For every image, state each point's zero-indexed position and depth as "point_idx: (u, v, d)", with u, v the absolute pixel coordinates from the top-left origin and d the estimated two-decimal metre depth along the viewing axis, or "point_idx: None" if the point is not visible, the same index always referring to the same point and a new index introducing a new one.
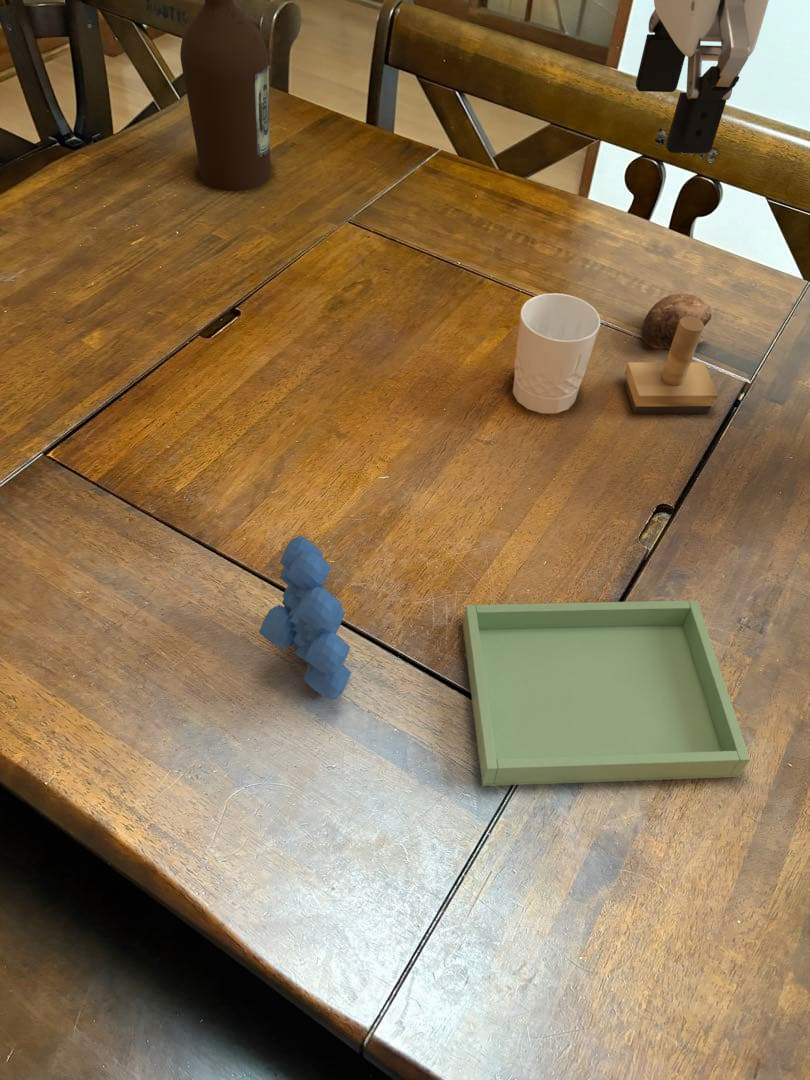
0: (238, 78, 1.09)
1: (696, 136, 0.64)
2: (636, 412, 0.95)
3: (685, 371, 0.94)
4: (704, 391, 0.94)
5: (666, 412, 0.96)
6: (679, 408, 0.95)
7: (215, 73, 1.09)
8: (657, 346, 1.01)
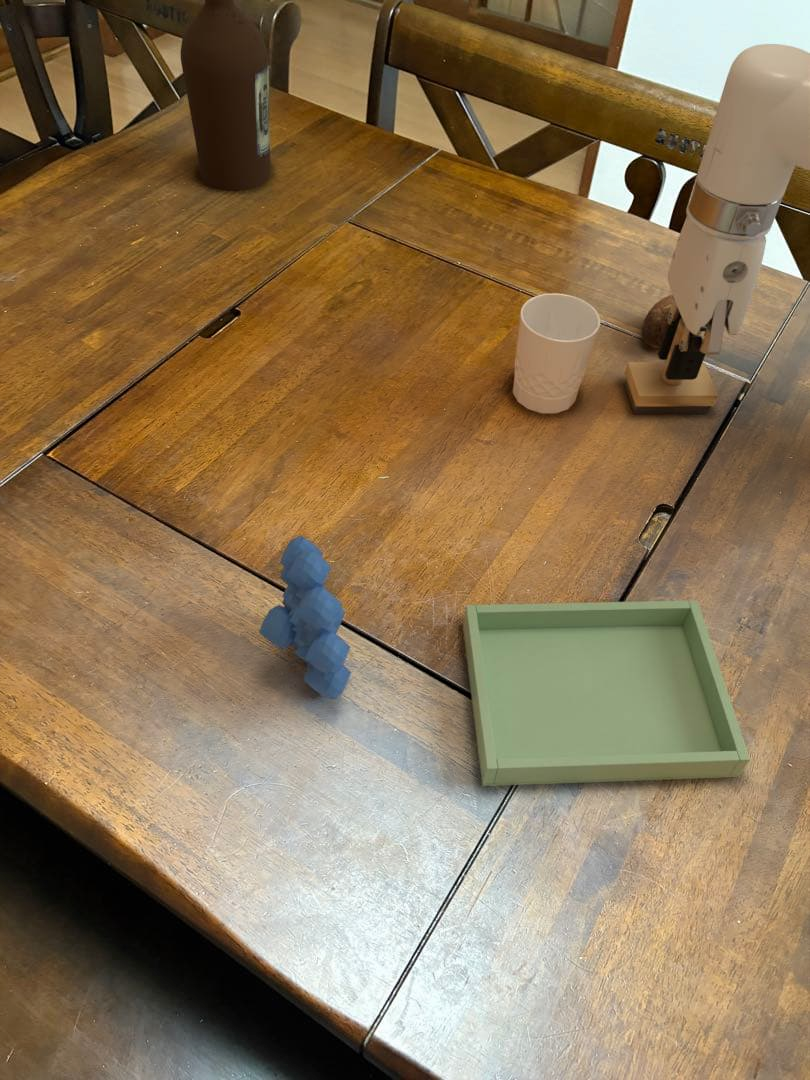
0: (238, 78, 1.09)
1: (686, 372, 0.92)
2: (636, 412, 0.95)
3: None
4: (704, 391, 0.94)
5: (666, 412, 0.96)
6: (679, 408, 0.95)
7: (215, 73, 1.09)
8: (657, 346, 1.01)
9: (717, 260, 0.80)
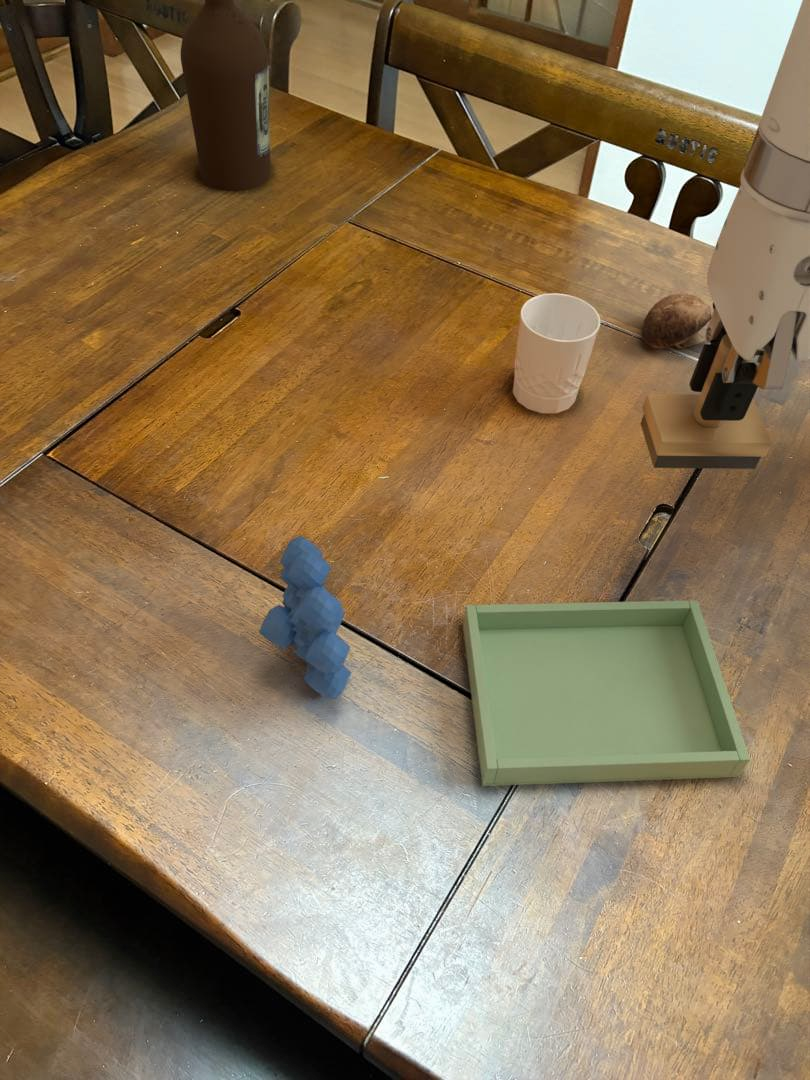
0: (238, 78, 1.09)
1: (730, 410, 0.65)
2: (657, 463, 0.69)
3: None
4: (752, 436, 0.68)
5: (699, 463, 0.70)
6: (717, 458, 0.69)
7: (215, 73, 1.09)
8: (657, 346, 1.01)
9: (787, 252, 0.54)
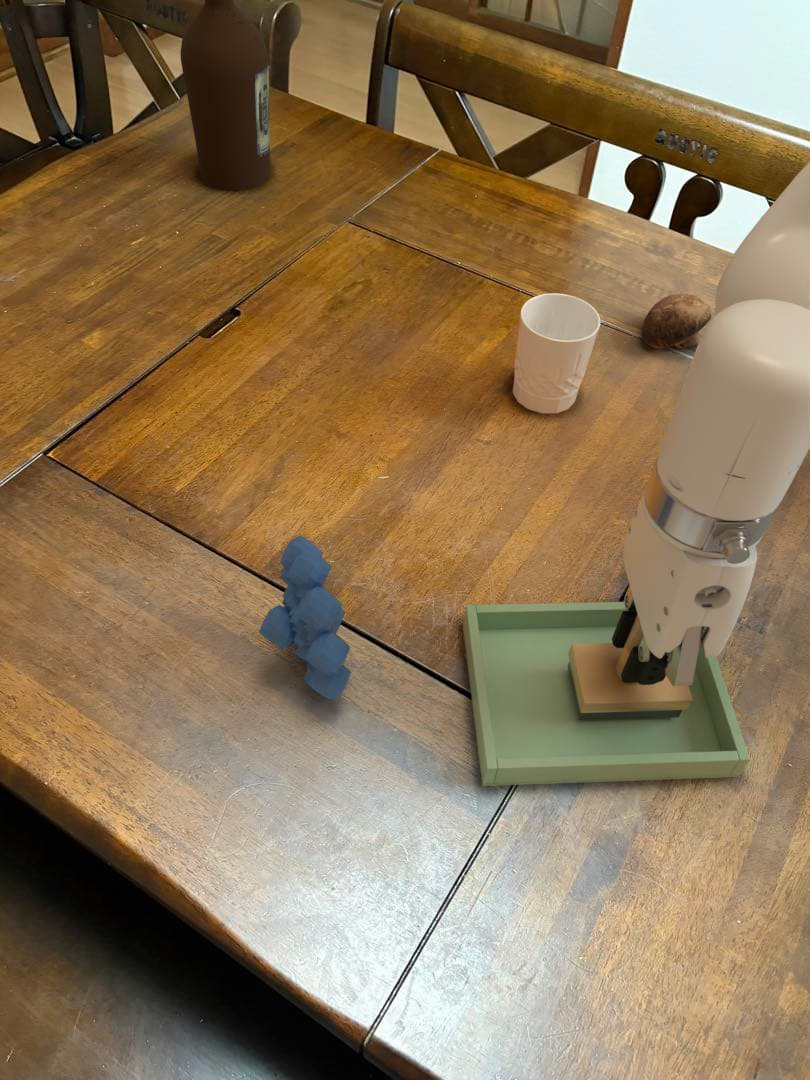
0: (238, 78, 1.09)
1: (648, 679, 0.67)
2: (582, 717, 0.70)
3: None
4: (673, 693, 0.69)
5: (623, 716, 0.71)
6: (640, 712, 0.70)
7: (215, 73, 1.09)
8: (657, 346, 1.01)
9: (686, 582, 0.55)
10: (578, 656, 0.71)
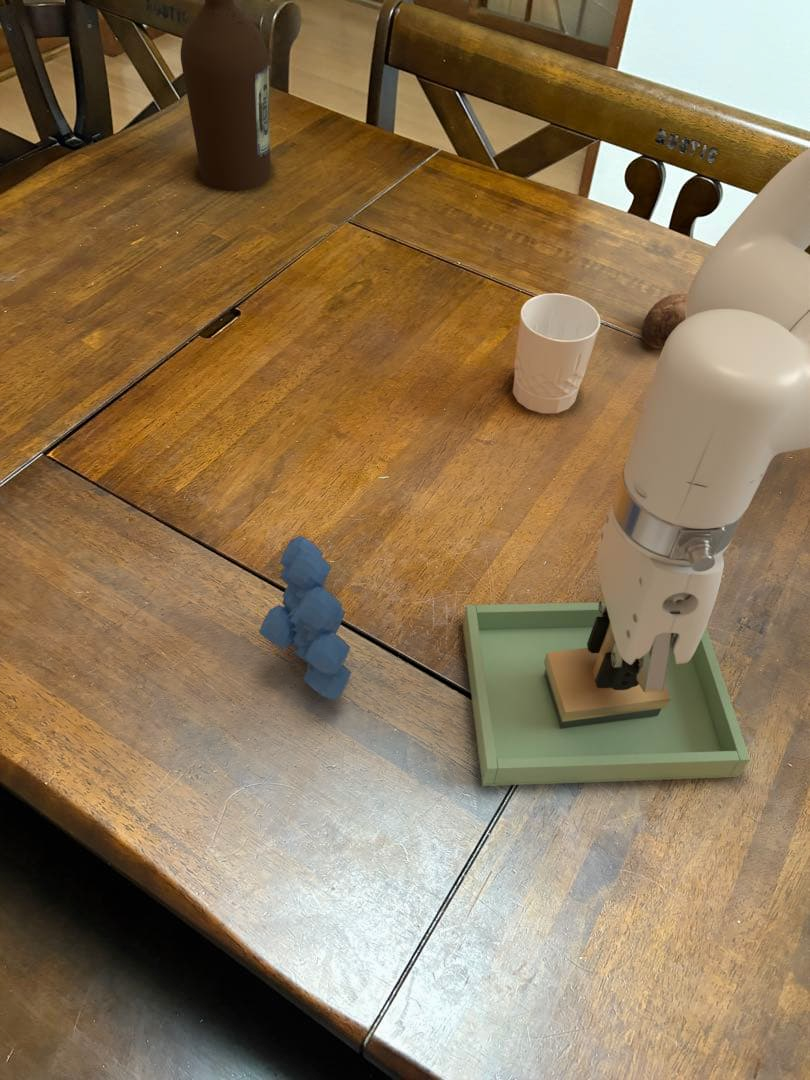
0: (238, 78, 1.09)
1: (622, 684, 0.67)
2: (563, 725, 0.70)
3: None
4: (651, 693, 0.70)
5: (603, 720, 0.71)
6: (620, 714, 0.71)
7: (215, 73, 1.09)
8: (657, 346, 1.01)
9: (654, 590, 0.55)
10: (554, 664, 0.71)
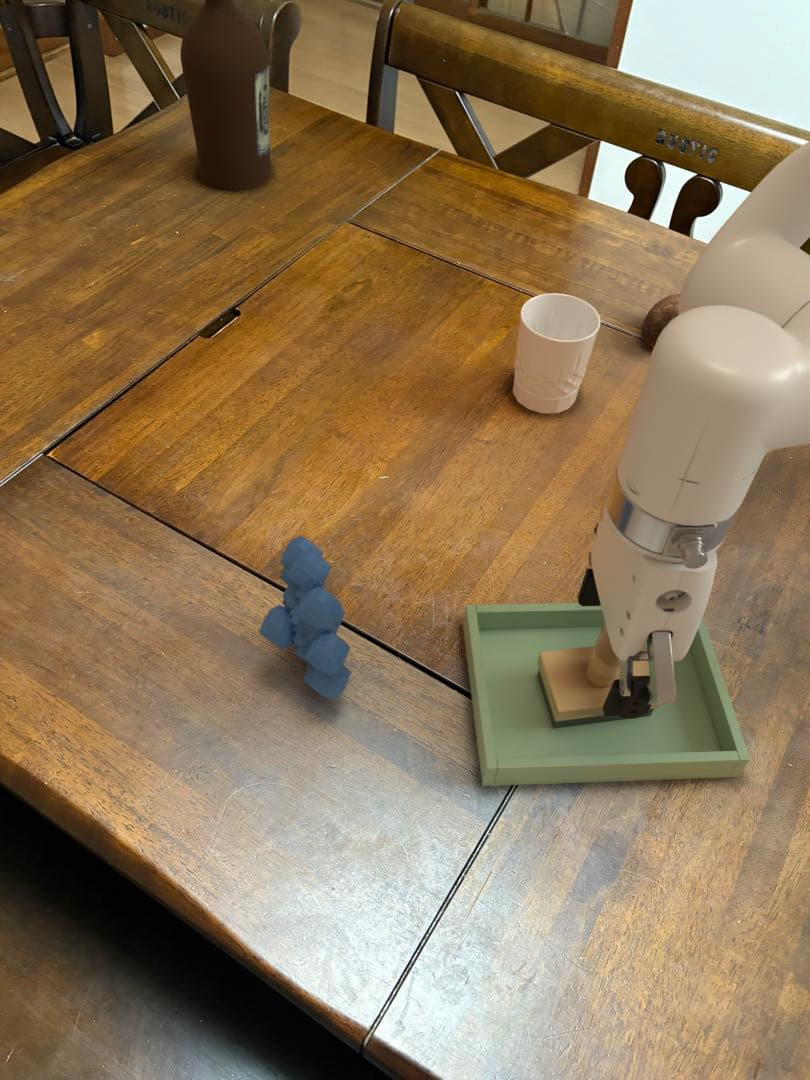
0: (238, 78, 1.09)
1: (631, 713, 0.64)
2: (556, 725, 0.70)
3: (617, 672, 0.69)
4: None
5: (596, 720, 0.71)
6: None
7: (215, 73, 1.09)
8: None
9: (647, 587, 0.55)
10: (548, 664, 0.71)
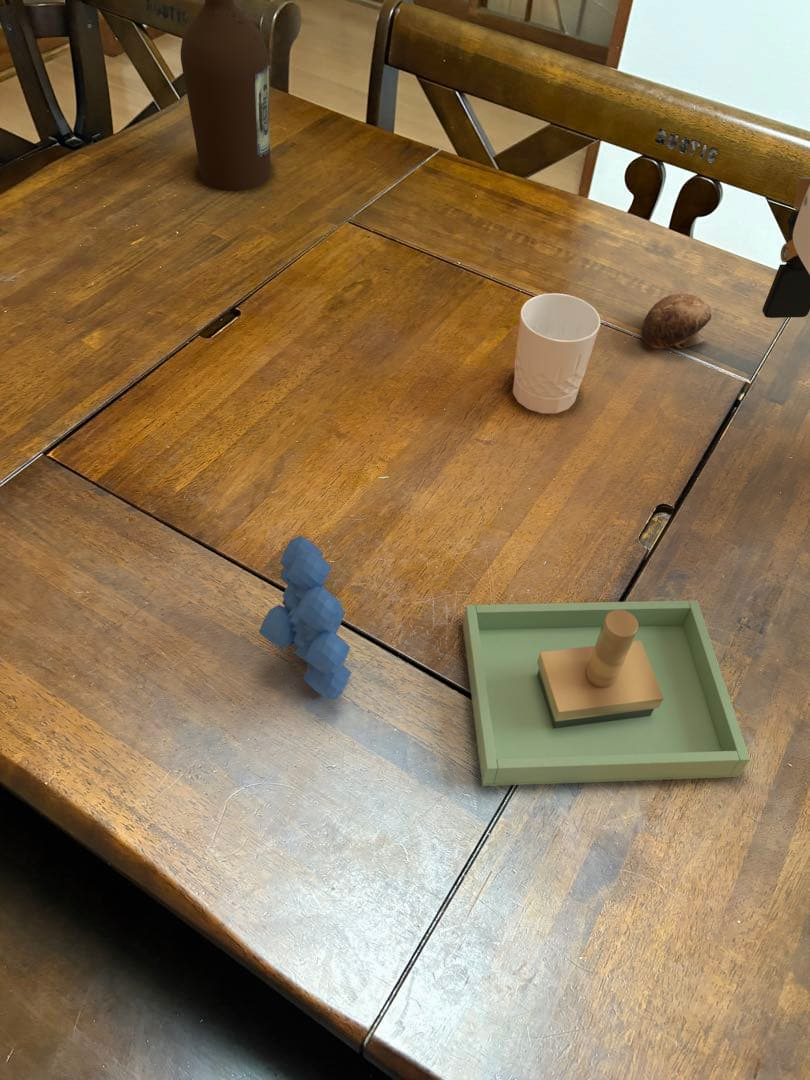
0: (238, 78, 1.09)
1: None
2: (556, 725, 0.70)
3: (617, 672, 0.69)
4: (644, 693, 0.70)
5: (596, 720, 0.71)
6: (613, 714, 0.71)
7: (215, 73, 1.09)
8: (657, 346, 1.01)
9: None
10: (548, 664, 0.71)
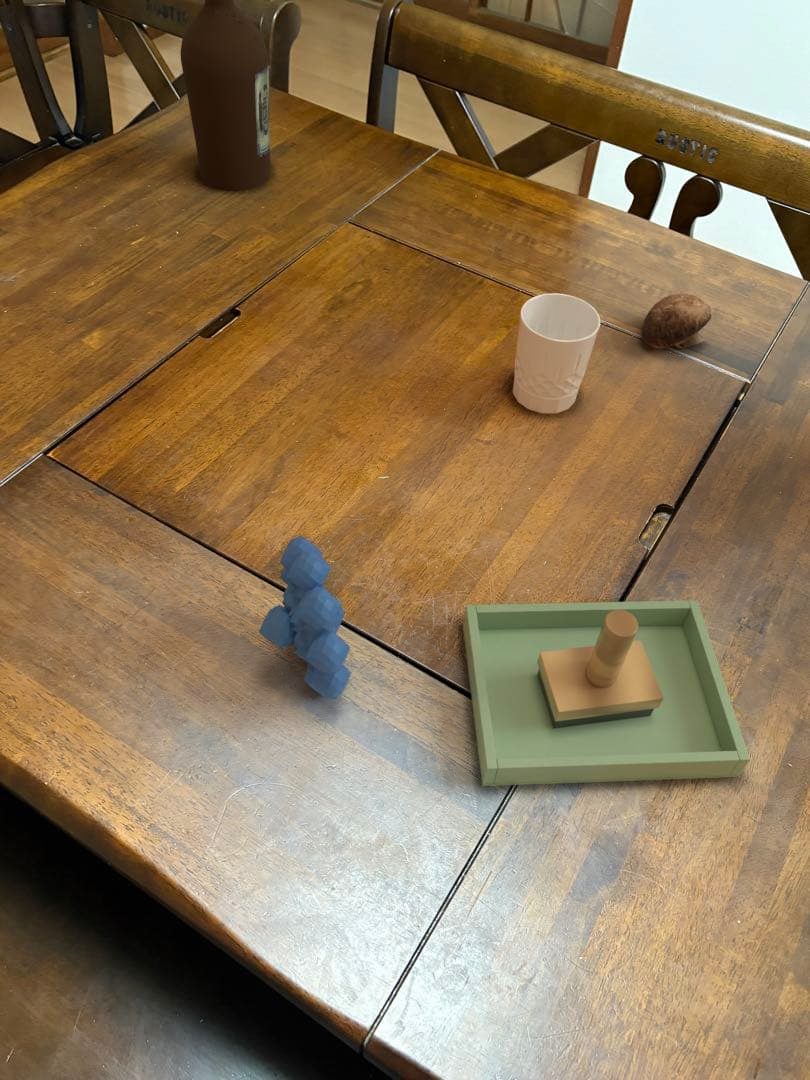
0: (238, 78, 1.09)
1: None
2: (556, 725, 0.70)
3: (617, 672, 0.69)
4: (644, 693, 0.70)
5: (596, 720, 0.71)
6: (613, 714, 0.71)
7: (215, 73, 1.09)
8: (657, 346, 1.01)
9: None
10: (548, 664, 0.71)
